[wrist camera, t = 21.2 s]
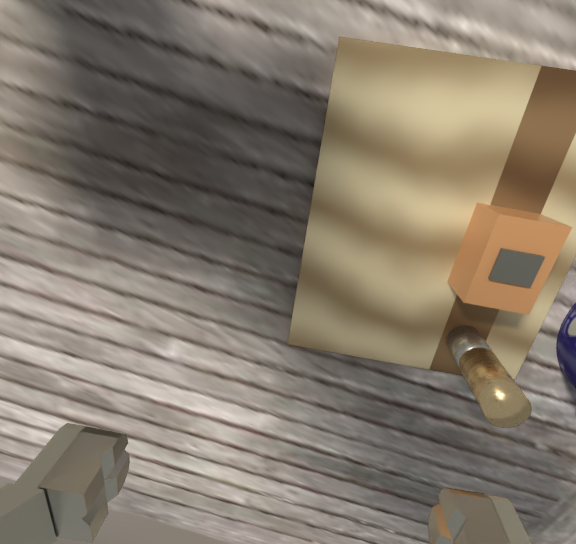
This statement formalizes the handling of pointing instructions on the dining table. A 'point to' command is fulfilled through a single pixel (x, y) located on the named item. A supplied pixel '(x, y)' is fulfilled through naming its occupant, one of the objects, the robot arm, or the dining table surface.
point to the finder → (506, 257)
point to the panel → (428, 198)
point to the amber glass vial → (488, 378)
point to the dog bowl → (568, 346)
